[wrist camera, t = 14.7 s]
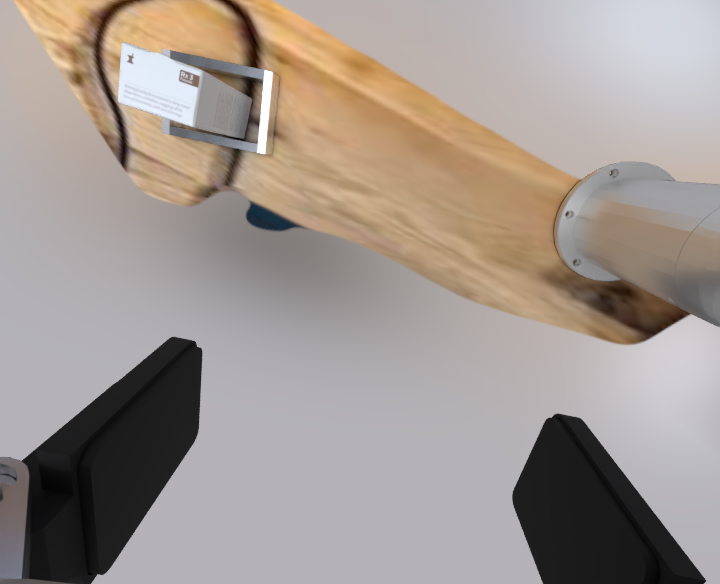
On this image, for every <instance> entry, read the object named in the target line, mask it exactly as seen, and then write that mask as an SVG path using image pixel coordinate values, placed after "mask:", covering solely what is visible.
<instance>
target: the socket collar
mask: <svg viewBox="0 0 720 584" xmlns="http://www.w3.org/2000/svg"><path fill="white" fill-rule="evenodd" d="M162 55H165V56H167V57H169V58H171V59H173V60H176V61H179V62H182V63H184V64H187V65H190V66H193V67H195V68H198V69H201V70H203V71H208V72H213V73H217V74H222V75H227V76H232V77H237V78H241V79H246V80H251V81H256V82H260V83H263V93H262V104H261V116H260V127H259V138H258V144H257V143H252V142H247V141H242V140H237V139H233V138H228V137H223V136H218V135H213V134H208V133H204V132H199V131H194V130H189V129H184V128H182V124H181V123H178V122H175V121H172V120H169V119H166V118H163V117H162V133H164V134H169V135H174V136H179V137H183V138H188V139H193V140H198V141H203V142H208V143H212V144H217V145H222V146H227V147H232V148H237V149H242V150H246V151H251V152H256V153H261V154H268V155H272V150H273V140H274V130H275V120H276V111H277V101H278V91H279V81H280V77H279V76H277V75H276V74H275V73H274V72H271V71H266V70H262V69H257V68H252V67H247V66H242V65H238V64H233V63H228V62H223V61H219V60H214V59H209V58H204V57H199V56H195V55H190V54H185V53H180V52H176V51H171V50H166V49H162Z"/></svg>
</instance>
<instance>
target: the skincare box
mask: <svg viewBox="0 0 720 584" xmlns="http://www.w3.org/2000/svg"><path fill="white" fill-rule="evenodd" d="M118 101H119V103H121V104H124V105H127V106H130V107H133V108H136V109H139V110H142V111H145V112H148V113H151V114H154V115H157V116H160V117H163V118H166V119H169V120H172V121H175V122H178V123H181V124H184V125H188V126H191V127H193V128H199V129H202V130H206V131H209V132H214V133H218V134H222V135H227V136H231V137H236V138H240V139H244V137H245V132H246V128H247V123H248V118H249V114H250V109H251V104H252V98H250V97H248V96H247V95H245V94H243V93H241V92H240V91H238V90H236V89H234V88H233V87H231V86H229V85H228V84H226V83H224V82H222V81H221V80H219V79H217V78H216V77H214V76H212V75H210V74H208V73H207V72H205V71H203V70H201V69H198V68H195V67H193V66H190V65H187V64H184V63H182V62H179V61H176V60H173V59H171V58H169V57H167V56H165V55H162V54H159V53H155V52H151V51H149V50H146V49H143V48H140V47H137V46H134V45H131V44H129V43H126V42H123V43H122V50H121V63H120V77H119V95H118Z"/></svg>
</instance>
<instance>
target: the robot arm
mask: <svg viewBox="0 0 720 584" xmlns="http://www.w3.org/2000/svg"><path fill="white" fill-rule="evenodd" d="M610 171H611V174H610ZM609 174H610V175H609ZM566 212H567V215H566V216H565V213H566ZM554 239H555V245H556V248H557V251H558V253H559V256H560V257H561V259H562V260H563V261H564V263H565V264H566V265H567V266H568V267H569V268H571V269H572V270H573V271H575V272H576V273H578V274H580V275H582V276H584V277H586V278H589V279H592V280H597V281H616V280H624V281H626V282H628V283H630V284H632V285H634V286H636V287H638V288H640V289H642V290H644V291H646V292H648V293H650V294H652V295H654V296H656V297H658V298H660V299H662V300H664V301H666V302H668V303H670V304H672V305H674V306H676V307H678V308H680V309H682V310H684V311H686V312H688V313H690V314H692V315H695V316H697V317H698V318H701V319H703V320H705V321H707V322H709V323H711V324H713V325H715V326H718V327H720V185H718V184H705V183H690V182H676V181H675V180H674V179H673V178H672V177H671V175H670V174H669V173H667V172H666V171H664V170H663V169H661V168H659V167H658V166H655V165H652V164H648V163H643V162H621V163H615V164H611V165H608V166H605V167H602V168H600V169H598V170H596V171H594V172H592V173H591V174H589V175H587V176H586V177H585V178H584V179H582V180H581V181H580V182H579V183H577V184H576V185H575V187H574V188H573V189H572V190H571V191H570V192H569V193H568V195H567V196H566V198H565V199H564V201H563V203H562V204H561V207H560V209H559V211H558V214H557V217H556V221H555V226H554ZM574 260H575V261H574ZM573 261H574V262H573ZM201 370H202V349H201V348H199V347H197V345H196V342H195V341H192V340H187V339H182V338H177V337H171V338H169V339H168V340H167V341H166V342H165V343H163V344H162V345H161V346H160V347H159V348H158V349H156V350H155V351H154V352H153V353H152V354H151V355H149V356H148V357H147V358H146V359H144V360H143V361H142V362H141V363H140V364H138V365H137V366H136V367H135V368H134V369H132V371H130V372H129V373H128V374H126V376H124V377H123V378H122V379H121V380H119V381H118V382H116V383H115V384H113V385H112V386H111V387H110V388H108V389H107V390H106V391H105V392H104V393H102V394H101V395H100V396H99V397H98V398H96V399H95V400H94V401H93V402H92V403H90V404H89V405H88V406H87V407H86V408H85V409H83V410H82V411H81V412H80V413H79V414H77V415H76V416H75V417H74V418H73V419H71V420H70V421H69V422H68V423H67V424H65V425H64V426H63V427H62V428H61V429H59V430H58V431H57V432H56V433H55V434H53V435H52V436H51V437H50V438H49V439H47V440H46V441H45V442H44V443H43V444H41V445H40V446H39V447H38V448H37V449H36V450H34V451H33V452H32V453H31V454H30V455H28V456H27V457H26V458H25V459H23V460H22V461H20V460H17V459H13V458H10V457H0V584H91V583H92V581H93V580H94V578H95V577H96V576H97V574H100V575H103V574H105V573H106V572H107V571H108V570H109V569H110V567H111V566H112V565H113V563H114V562H115V560H116V559H117V557H118V556H119V554H120V553H121V551H122V550H123V548H124V547H125V545H126V543H127V542H128V541H129V539H130V538H131V536H132V535H133V533H134V532H135V530H136V529H137V527H138V526H139V524H140V523H141V521H142V520H143V518H144V516H145V515H146V514H147V512H148V511H149V509H150V508H151V506H152V505H153V503H154V502H155V500H156V498H157V497H158V496H159V494H160V493H161V491H162V490H163V488H164V487H165V485H166V484H167V482H168V481H169V479H170V478H171V476H172V475H173V473H174V472H175V470H176V469H177V467H178V466H179V464H180V463H181V461H182V460H183V458H184V457H185V455H186V454H187V452H188V450H189V449H190V448H191V446H192V445H193V443H194V441H195V439H196V437H197V434H198V429H199V412H200V390H201ZM512 497H513V505H514V508H515V511H516V513H517V516H518V519H519V521H520V524H521V527H522V529H523V532H524V535H525V537H526V540H527V542H528V545H529V548H530V550H531V553H532V556H533V558H534V561H535V564H536V566H537V569H538V571H539V574H540V577H541V579H542V582H543V584H704V583H705V582H706V580H705V578H704V577H703V576H702V575H701V573H700V572H699V571H698V569H697V568H696V567H695V566H694V564H693V563H692V562H691V560H690V559H689V558H688V556H687V555H686V554H685V553H684V551H683V550H682V549H681V547H680V546H679V545H678V544H677V542H676V541H675V539H674V538H673V537H672V536H671V534H670V533H669V532H668V530H667V529H666V528H665V526H664V525H663V524H662V523H661V521H660V520H659V519H658V517H657V516H656V515H655V514H654V512H653V511H652V510H651V508H650V507H649V506H648V504H647V503H646V502H645V500H644V499H643V498H642V497H641V495H640V494H639V493H638V491H637V490H636V489H635V488H634V486H633V485H632V484H631V482H630V481H629V480H628V478H627V477H626V476H625V475H624V473H623V472H622V471H621V469H620V468H619V467H618V466H617V464H616V463H615V462H614V460H613V459H612V458H611V456H610V455H609V454H608V452H607V451H606V450H605V449H604V447H603V446H602V445H601V443H600V442H599V441H598V439H597V438H596V437H595V436H594V434H593V433H592V432H591V430H590V429H589V428H588V427H587V425H586V424H585V423H584V421H583V420H582V419H580V418H577V417H572V416H567V415H562V414H555V415H554V416H553V417H552V418H548V419H546V421H545V423H544V425H543V427H542V429H541V432H540V434H539V436H538V438H537V441H536V442H535V445H534V447H533V449H532V451H531V453H530V455H529V458H528V460H527V462H526V464H525V466H524V469H523V471H522V473H521V475H520V477H519V480H518V482H517V484H516V486H515V488H514V491H513V496H512Z"/></svg>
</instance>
